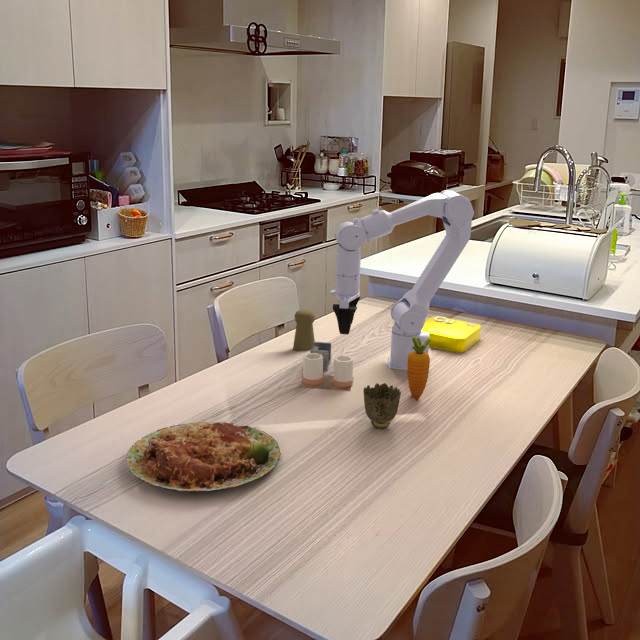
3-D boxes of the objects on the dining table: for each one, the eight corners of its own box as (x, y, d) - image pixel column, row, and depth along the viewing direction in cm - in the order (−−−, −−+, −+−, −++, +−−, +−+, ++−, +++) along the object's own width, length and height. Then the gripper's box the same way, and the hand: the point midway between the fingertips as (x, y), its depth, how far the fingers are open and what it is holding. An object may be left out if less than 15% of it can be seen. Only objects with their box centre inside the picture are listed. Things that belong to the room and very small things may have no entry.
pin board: (353, 381, 165) (354, 365, 164) (350, 395, 157) (350, 378, 156) (306, 378, 166) (307, 361, 165) (301, 392, 159) (301, 374, 158)
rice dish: (195, 419, 148) (193, 395, 146) (309, 448, 134) (308, 421, 133) (92, 478, 125) (89, 450, 123) (217, 520, 111) (215, 489, 110)
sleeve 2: (353, 380, 163) (354, 355, 161) (351, 387, 159) (352, 362, 157) (334, 378, 163) (335, 354, 162) (332, 386, 159) (332, 361, 157)
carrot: (429, 398, 157) (434, 334, 152) (423, 407, 152) (428, 341, 148) (408, 394, 159) (412, 331, 154) (401, 402, 154) (405, 337, 150)
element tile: (409, 343, 192) (410, 326, 191) (432, 329, 204) (433, 313, 203) (461, 355, 185) (463, 338, 183) (482, 339, 197) (483, 323, 195)
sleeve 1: (320, 376, 164) (320, 352, 163) (324, 384, 160) (324, 359, 159) (301, 377, 164) (301, 353, 162) (305, 385, 159) (305, 360, 158)
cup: (374, 438, 139) (375, 400, 136) (355, 422, 145) (356, 386, 142) (405, 430, 142) (408, 393, 139) (385, 415, 148) (387, 380, 146)
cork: (315, 355, 181) (316, 314, 177) (291, 354, 181) (292, 313, 178) (316, 347, 187) (317, 307, 183) (293, 346, 187) (293, 306, 183)
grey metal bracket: (358, 367, 173) (359, 344, 172) (356, 377, 168) (357, 353, 166) (313, 364, 175) (314, 341, 173) (309, 373, 169) (310, 350, 167)
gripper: (334, 265, 174) (333, 318, 178) (327, 280, 160) (325, 337, 164) (363, 267, 173) (361, 320, 177) (358, 282, 159) (355, 339, 164)
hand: (346, 328), depth 171 cm, fingers open, 7 cm apart
